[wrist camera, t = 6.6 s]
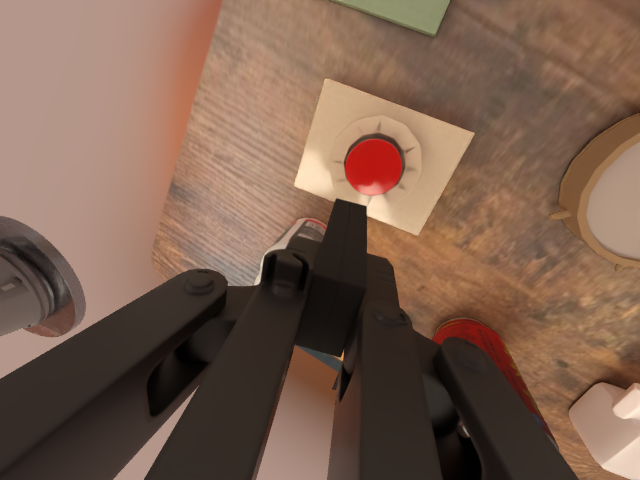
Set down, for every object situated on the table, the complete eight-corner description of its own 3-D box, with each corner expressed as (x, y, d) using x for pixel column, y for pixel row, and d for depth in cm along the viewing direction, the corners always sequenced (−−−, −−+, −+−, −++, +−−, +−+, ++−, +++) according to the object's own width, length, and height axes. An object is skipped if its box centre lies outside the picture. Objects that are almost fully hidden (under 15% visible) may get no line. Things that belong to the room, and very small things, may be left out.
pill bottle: (297, 267, 31) (261, 325, 22) (278, 223, 29) (232, 267, 21) (342, 257, 29) (323, 315, 21) (326, 210, 28) (297, 251, 19)
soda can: (413, 338, 31) (428, 457, 20) (461, 299, 28) (510, 414, 17) (461, 373, 32) (502, 508, 21) (515, 339, 29) (596, 476, 18)
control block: (299, 181, 27) (286, 190, 24) (330, 80, 23) (320, 73, 20) (415, 227, 26) (420, 244, 23) (468, 132, 22) (483, 134, 19)
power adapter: (628, 336, 26) (690, 391, 21) (684, 354, 25) (762, 415, 20) (556, 409, 31) (591, 469, 25) (602, 426, 30) (648, 490, 25)
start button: (341, 179, 23) (337, 183, 21) (359, 129, 21) (357, 130, 19) (387, 197, 22) (387, 203, 21) (410, 148, 21) (412, 150, 19)
